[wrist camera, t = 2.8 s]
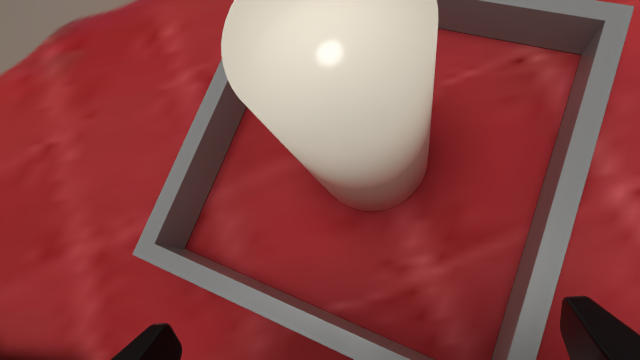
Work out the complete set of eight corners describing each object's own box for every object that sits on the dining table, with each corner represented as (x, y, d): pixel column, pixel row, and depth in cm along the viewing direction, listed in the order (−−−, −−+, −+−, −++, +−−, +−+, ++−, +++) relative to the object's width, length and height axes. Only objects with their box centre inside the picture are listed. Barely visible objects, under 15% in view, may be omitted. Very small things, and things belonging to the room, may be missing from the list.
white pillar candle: (443, 122, 23) (469, -53, 11) (406, 227, 22) (392, 158, 10) (340, 95, 25) (269, -77, 13) (302, 191, 24) (188, 98, 12)
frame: (606, 42, 22) (634, 6, 19) (500, 412, 19) (514, 435, 16) (285, -14, 28) (270, -48, 25) (165, 258, 25) (132, 254, 22)
